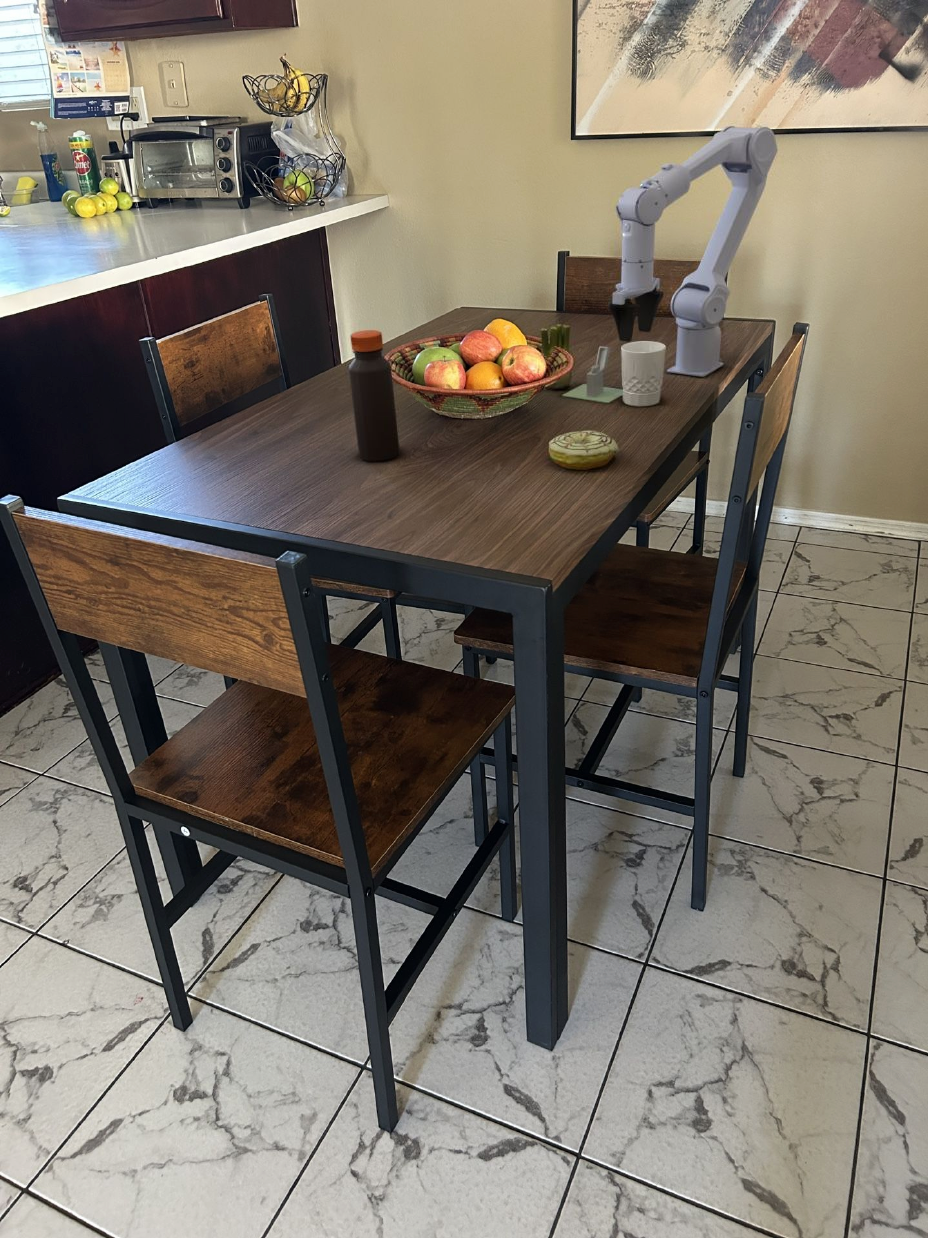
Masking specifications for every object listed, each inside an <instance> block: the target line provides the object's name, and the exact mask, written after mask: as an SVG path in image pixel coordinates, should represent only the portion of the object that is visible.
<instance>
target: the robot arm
mask: <svg viewBox="0 0 928 1238" xmlns="http://www.w3.org/2000/svg"><path fill="white" fill-rule="evenodd" d="M778 151H779V150H778V146H777V140H776V136H775V133H774V131H773V130H772V128H770V127H768V126H760V127H751V126H747V127H745V126H744V127H742V126H734V125H729V126H726V127H724V128H723V129H722V130H721V131H718V132H716V133H715V134H714V135H713V138H712V139H711V140H710V141H709V142H708V143H707V144H705V145H704V146H702V147H701V148H700V149H699V150H698V151H697V152H695V153H694V154H692V155H691V156H690V157H688V158H687V160H685V161H683V162H682V163H681V164H679V163H675V162H672V163H670V162H669V163H667V162H666V163H665V164H663V165H661V167H660V168H661V169H660V171H658V172H657V173H655V174H654V175H653V176H651V177H650V178H645V179H643V180H642V181H641V184H640V185H639V186H638V187H629V188H627V189H626V190H624V191H623V193H622V194H621V195H620V197H619V198H618V202H617V205H615V212H616V215H617V217H618V219H619V221H620V230H621V232H622V235H621V237H622V238H621V239H622V241H621V243H622V244H621V273H620V275H621V276H620V277H621V279H620V282H619V283H617V284H615V289H616V290H615V291H614V292H612V300H610V301H608V309H609V310H610V312H611V315H612V317H613V319H614V322H615V326H616V330H617V335H618V338H619V341H620V342H625V343H626V342H628V343H631V341H632V339H633V335H634V328H635V322H636V316H637V327H638V332H641V333H650V332H651V330H652V326H653V323H654V319H655V316H656V313H657V310H658V307H659V306H660V303H661V301H662V300H663V298H664V295H665V294H664V291H662V290H659V289H660V285H661V283H660V282H661V279H660V278H659V277H658V278H657V277H654V266H655V265H654V264H655V263H654V261H655V236H656V223H658V221H659V220H660V219H661V217H662V215H663V212H664V210H665V209H666V208H668V207H669V206H671V205H673V203H675V202H676V201H677V200H679V199H680V198H682V197H683V196H685V195H686V194H687V193H688V192H689V190H690V187H691V183H692V182H693V181H696V180H697V179H698V178H700V177H702V176H703V175H705V174H707V173H708V172H710V171H711V170H713V169H714V168H716V167H718V166H721V168H722V169H723V171H724V173H725V175H726V177H727V178H728V180H729V181H730V183H731V186H732V189H731V191H730V193H729V195H728V198H727V200H726V203H725V205H724V207H723V210H722V212H721V214H720V216H719V218H718V221H717V224H716V226H715V228H714V231H713V232H712V235H711V237H710V240H709V242H708V244H707V247H706V249H705V251H704V254H703V256H702V258H701V261H700V263H699V265H698V267H697V269H696V270H695V271H693V272H691V273H689V274H688V275H687V276H685V278H683V282H682V283H681V285H680V287H678V288H677V290H676V291H675V292H674V294H672V297H671V301H670V311H671V314H672V316H673V317H674V318H675V324H677V336H676V353H675V354H676V355H675V365H674V366H671V367H670V368H668V369H667V370H666V371H667V373H671V374H679V375H686V376H694V377H700V378H704V377H706V376H708V375H710V374H711V373H713V372H714V371H716V370H718V369H719V368H721V367H723V366H724V362H721V361H720V357H721V345H722V344H721V343H722V330H721V328H720V326H719V323H721V321H722V320H723V318H724V316H725V314H726V310H727V303H728V299H729V296H730V294H731V291H730V289H729V287H728V285H727V282H726V281H725V279H726V277H727V274H728V272H729V270H730V267H731V265H732V263H733V261H734V259H735V257H736V254H737V251H738V249H739V247H740V245H741V242H742V241H743V237H744V236H745V234H746V232H747V229H748V227H749V224H750V223H751V221H752V218H753V216H754V213H755V211H756V208H757V206H758V204H759V202H760V199H761V197H762V196H763V194H764V193H763V192H764V191H765V187H766V185H767V179H768V175H769V171H770V169H771V168H772V165H773V163H774V160H775V158H776V156H777V153H778ZM632 299H634V301H635V303H633V301H631V300H632Z"/></svg>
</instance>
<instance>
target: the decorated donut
mask: <svg viewBox="0 0 928 1238" xmlns="http://www.w3.org/2000/svg"><path fill="white" fill-rule="evenodd" d="M548 445H549V446H548V453H549V456H550V459H551V460H552V461H553V462H554V463H555V464H556V465H558V466H560V467H562V468H566V469H568V470H576V471H577V470H578V471H581V470H582V471H587V470H590V469H597V468H601V467H603V466H605V465H607V464H608V463H609V462H610V461H611V460H612V458H613V457H614V456H615V454H617V453H618V452H619V446H618V444H617V442H616V441H615V440H614V438H613V437H611V436H609V435H607V434H605V433H603V432H600V431H597V430H590V429H589V430H578V431H571V432H570V431H569V432H566V433H563V434H561V435H557V436H555V437H554V438H553V439H551V440H550V441H549V442H548Z"/></svg>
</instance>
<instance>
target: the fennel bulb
mask: <svg viewBox="0 0 928 1238" xmlns="http://www.w3.org/2000/svg"><path fill="white" fill-rule="evenodd" d="M570 333H571V325H568V324H563V325H562V324H560V323H559V324H556V325H555V326H551V327H550V329H549V332H548V329H547V328H541V329H540V336H541V337H540V340H541V354H542V353H543V354H544V356H546V358H549V357H550V356H551V355H552V353H553V352H554V351H555V347H554V346H557V347H560V348H561V349H564V350H565V351H567V352H568V353H569V354H570V355H571V350H570ZM572 375H573V370H572V371H570V373H568V374H566V375H565V376H563V377H562V378H560V380H558V381H557V382H556V383H554V384H552V385H550V386H548V387H546V388H547V389H551V390H552V389H553V390H564V389H566V388H568V387H569V385H570V383H571V381H572Z"/></svg>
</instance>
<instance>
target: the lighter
mask: <svg viewBox="0 0 928 1238" xmlns="http://www.w3.org/2000/svg"><path fill="white" fill-rule="evenodd" d="M597 351H598V352H597V356H596V361H595V364H594V365H592V366H591V367H590V371H589V372H587V373H586V384H587V397H593V398H594V397H596V396H598V395H599V394H600V393H602V392H603V387H604V371H607V368H608V364H609V363H608V362H609V357H610V352H611V348H610V347H608V346H604V345H603V346H602V345H601V346H599V347H598V350H597Z"/></svg>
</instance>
